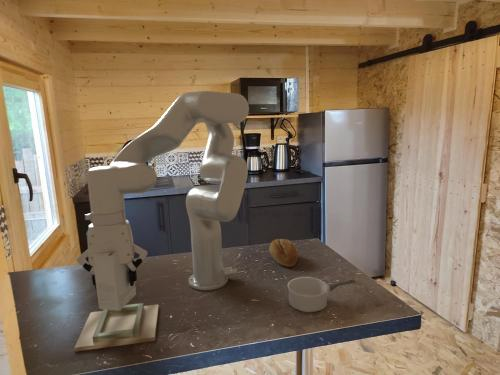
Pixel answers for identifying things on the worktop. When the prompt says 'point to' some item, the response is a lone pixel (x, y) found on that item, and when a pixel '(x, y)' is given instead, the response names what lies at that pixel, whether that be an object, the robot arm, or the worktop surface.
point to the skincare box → (112, 282)
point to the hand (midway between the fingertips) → (115, 285)
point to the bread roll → (283, 252)
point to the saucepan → (310, 293)
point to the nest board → (119, 327)
